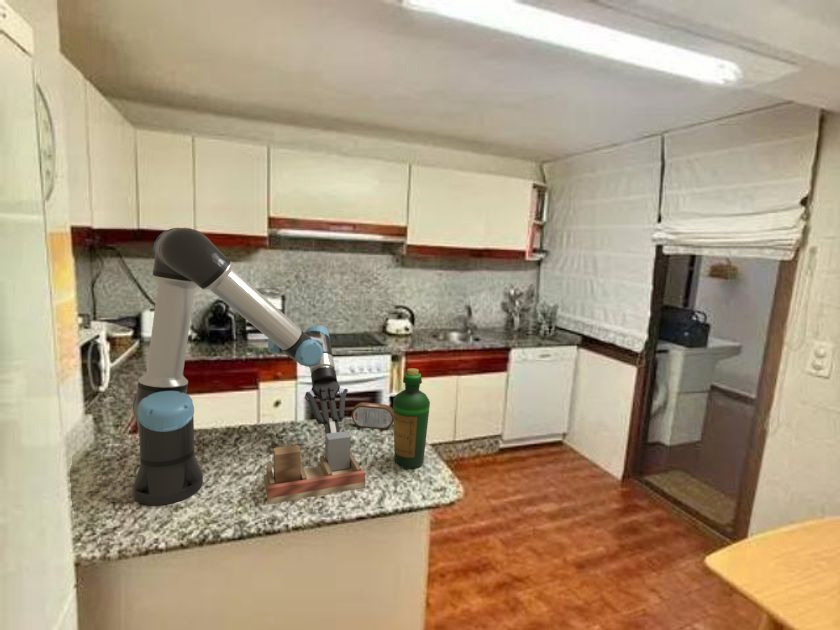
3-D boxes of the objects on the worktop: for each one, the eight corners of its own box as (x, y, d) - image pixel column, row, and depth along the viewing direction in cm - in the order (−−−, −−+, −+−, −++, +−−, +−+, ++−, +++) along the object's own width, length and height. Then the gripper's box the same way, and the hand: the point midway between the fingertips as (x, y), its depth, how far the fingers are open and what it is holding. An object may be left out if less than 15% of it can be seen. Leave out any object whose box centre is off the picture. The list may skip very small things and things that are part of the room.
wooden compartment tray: (268, 504, 108) (268, 486, 107) (263, 480, 118) (263, 463, 118) (364, 487, 117) (365, 471, 117) (352, 466, 128) (353, 451, 127)
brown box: (275, 489, 111) (275, 455, 110) (273, 480, 115) (273, 447, 114) (300, 485, 113) (300, 451, 112) (297, 476, 117) (297, 443, 116)
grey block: (327, 471, 121) (328, 439, 119) (324, 463, 125) (324, 432, 124) (349, 468, 123) (350, 436, 122) (345, 460, 127) (346, 430, 126)
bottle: (386, 456, 135) (389, 365, 131) (419, 452, 139) (423, 364, 135) (396, 473, 125) (401, 376, 121) (432, 468, 129) (437, 373, 125)
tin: (394, 427, 157) (395, 404, 156) (393, 431, 154) (394, 407, 153) (352, 423, 159) (353, 400, 157) (350, 427, 156) (350, 403, 154)
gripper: (341, 376, 145) (354, 447, 132) (300, 379, 139) (309, 453, 127) (346, 364, 139) (360, 437, 127) (303, 367, 134) (313, 443, 121)
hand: (334, 445), depth 127 cm, fingers closed
